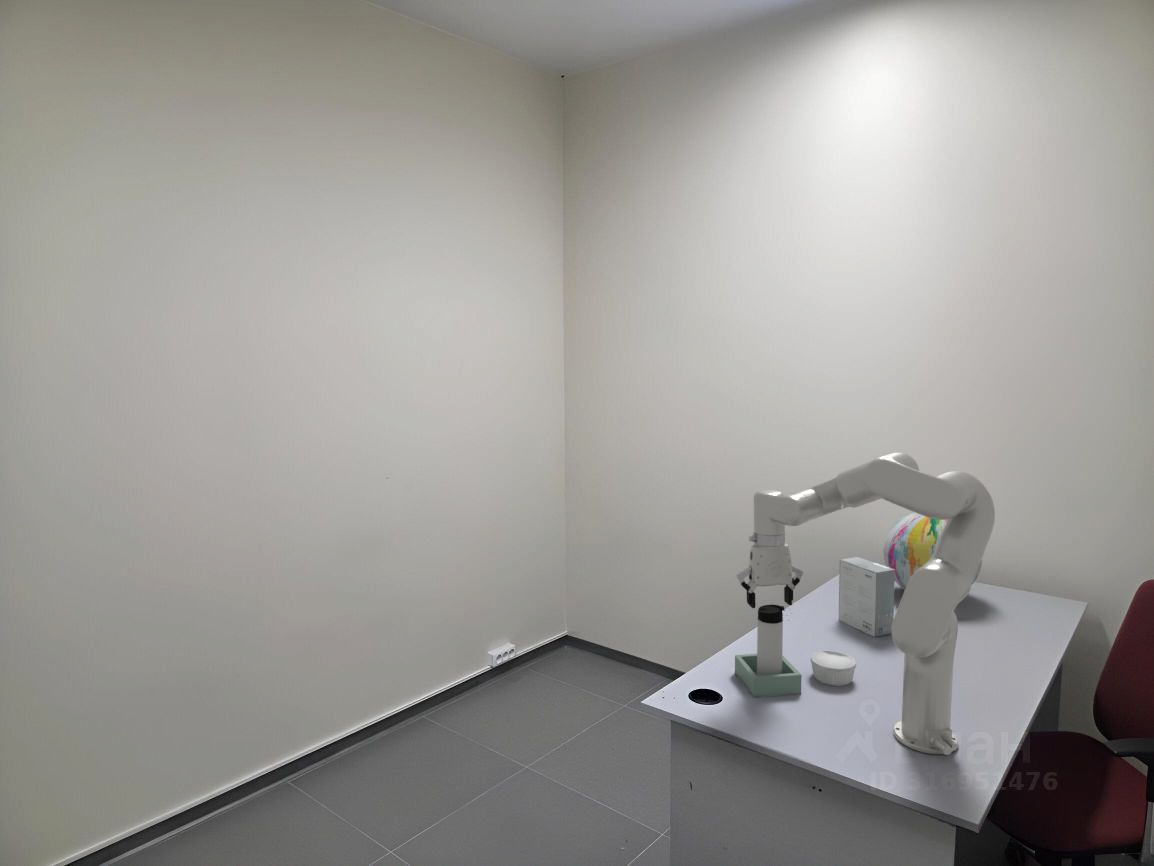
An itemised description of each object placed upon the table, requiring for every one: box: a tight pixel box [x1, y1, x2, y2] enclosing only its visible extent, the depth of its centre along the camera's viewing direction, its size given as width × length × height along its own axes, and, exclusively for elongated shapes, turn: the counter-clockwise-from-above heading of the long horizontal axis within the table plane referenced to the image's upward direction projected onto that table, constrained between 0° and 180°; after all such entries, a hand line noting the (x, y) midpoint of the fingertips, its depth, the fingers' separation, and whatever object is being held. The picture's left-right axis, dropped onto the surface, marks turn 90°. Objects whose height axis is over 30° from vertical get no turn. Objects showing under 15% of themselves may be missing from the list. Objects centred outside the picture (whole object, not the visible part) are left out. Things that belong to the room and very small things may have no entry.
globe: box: [882, 512, 983, 590], centre depth 236 cm, size 30×30×30 cm
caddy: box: [734, 653, 802, 699], centre depth 179 cm, size 13×12×5 cm
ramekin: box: [810, 650, 857, 687], centre depth 181 cm, size 11×11×5 cm
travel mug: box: [756, 604, 785, 676], centre depth 177 cm, size 6×7×20 cm
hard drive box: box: [838, 556, 896, 638], centre depth 212 cm, size 16×8×20 cm, turn 22°
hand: (770, 604), depth 176 cm, fingers open, 9 cm apart
